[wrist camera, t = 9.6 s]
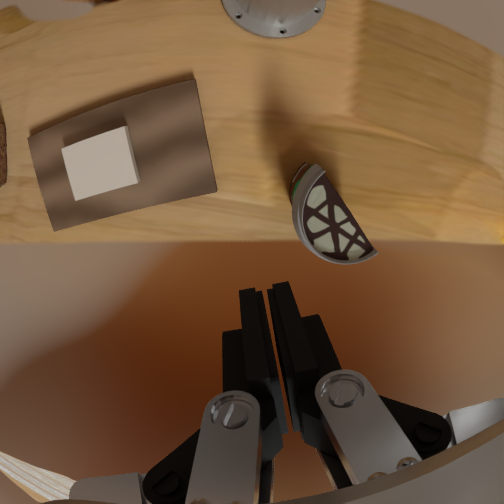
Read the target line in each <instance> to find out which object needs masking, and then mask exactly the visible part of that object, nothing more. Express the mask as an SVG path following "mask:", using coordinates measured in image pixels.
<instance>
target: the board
mask: <svg viewBox="0 0 504 504" xmlns="http://www.w3.org/2000/svg"><path fill="white" fill-rule="evenodd" d="M124 126H128V131H129V135H130V140H131V144H132V148H133V153H134V157H135V161H136V165H137V169H138V173H139V177H140V182H139V183H136V184H133V185H129V186H125V187H121V188H118V189H114V190H111V191H107V192H104V193H100V194H97V195H93V196H90V197H87V198H84V199H80V200H77V201H75V198H74V195H73V192H72V188H71V185H70V181H69V177H68V174H67V170H66V166H65V162H64V158H63V154H62V150H61V149H62V148H65V147H67V146H70V145H72V144H75V143H77V142H80V141H83V140H85V139H88V138H91V137H94V136H96V135H99V134H102V133H105V132H108V131H111V130H114V129H117V128H120V127H124ZM28 143H29V148H30V152H31V156H32V160H33V164H34V168H35V172H36V176H37V180H38V183H39V187H40V190H41V193H42V197H43V200H44V203H45V206H46V209H47V213H48V216H49V219H50V221H51V224H52V227H53V230H54V232H55V231H58V230H62V229H65V228H69V227H72V226H76V225H79V224H83V223H87V222H90V221H94V220H98V219H102V218H105V217H109V216H113V215H117V214H121V213H125V212H129V211H133V210H137V209H141V208H146V207H150V206H154V205H159V204H163V203H167V202H172V201H176V200H181V199H186V198H190V197H195V196H200V195H205V194H210V193H215V192H217V186H216V181H215V176H214V171H213V166H212V161H211V156H210V151H209V146H208V141H207V136H206V131H205V126H204V120H203V115H202V110H201V105H200V100H199V94H198V89H197V84H196V80H195V79H193V80H189V81H184V82H180V83H176V84H172V85H168V86H164V87H160V88H157V89H153V90H150V91H146V92H143V93H139V94H136V95H133V96H130V97H127V98H124V99H121V100H118V101H115V102H112V103H109V104H106V105H103V106H100V107H98V108H95V109H92V110H90V111H87V112H85V113H82V114H80V115H77V116H75V117H72V118H70V119H67V120H65V121H63V122H61V123H58V124H56V125H54V126H52V127H49V128H47V129H45V130H43V131H41V132H39V133H37V134H35V135H33V136H31V137H29V138H28Z"/></svg>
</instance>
